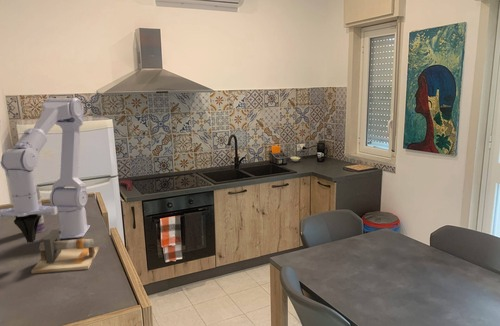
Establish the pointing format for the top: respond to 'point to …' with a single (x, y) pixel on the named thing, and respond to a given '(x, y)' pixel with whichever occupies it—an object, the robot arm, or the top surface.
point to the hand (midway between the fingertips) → (31, 240)
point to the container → (41, 221)
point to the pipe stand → (68, 256)
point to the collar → (51, 246)
